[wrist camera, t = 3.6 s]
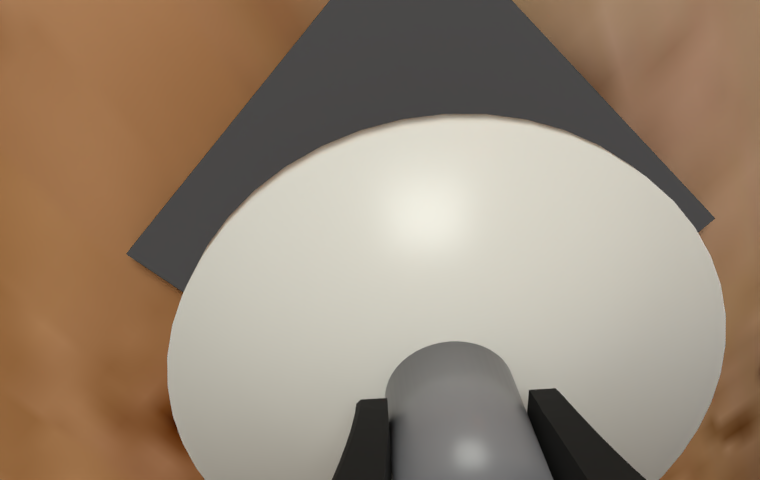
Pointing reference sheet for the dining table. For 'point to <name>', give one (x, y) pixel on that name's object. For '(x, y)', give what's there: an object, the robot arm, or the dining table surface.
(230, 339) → the white lid
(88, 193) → the dining table surface
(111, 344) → the dining table surface
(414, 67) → the rubber mat
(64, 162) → the dining table surface
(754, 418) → the dining table surface
